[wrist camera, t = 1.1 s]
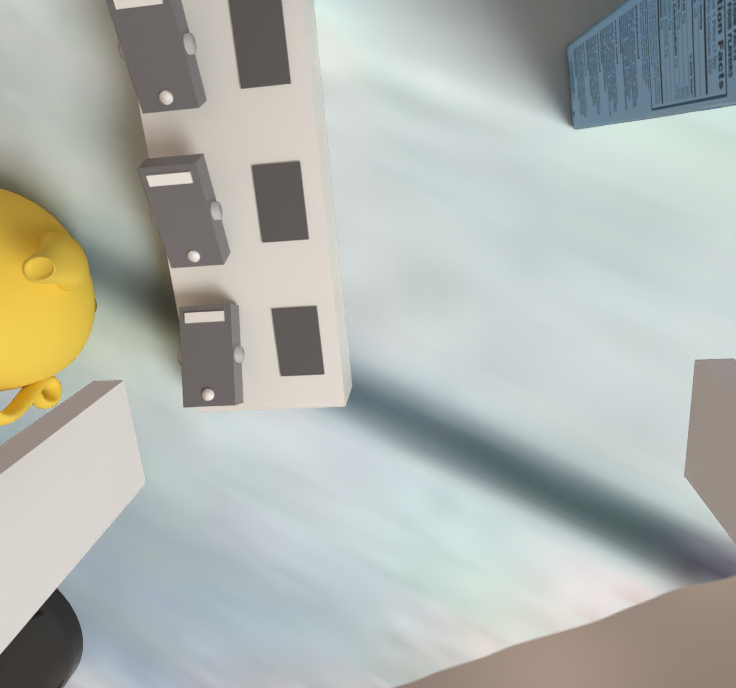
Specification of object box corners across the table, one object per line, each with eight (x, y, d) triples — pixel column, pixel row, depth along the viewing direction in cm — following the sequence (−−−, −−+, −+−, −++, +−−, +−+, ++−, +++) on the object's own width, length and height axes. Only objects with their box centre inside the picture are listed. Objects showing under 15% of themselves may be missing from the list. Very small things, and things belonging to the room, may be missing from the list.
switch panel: (212, 391, 44) (189, 418, 40) (140, -18, 36) (101, -39, 32) (352, 385, 42) (343, 412, 38) (309, -41, 35) (291, -66, 30)
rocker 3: (189, 405, 38) (177, 407, 36) (184, 308, 38) (172, 307, 36) (248, 402, 37) (239, 405, 36) (243, 305, 37) (234, 303, 36)
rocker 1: (147, 106, 34) (136, 114, 33) (109, -16, 31) (95, -12, 30) (212, 99, 34) (203, 107, 33) (180, -26, 30) (169, -22, 29)
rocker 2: (174, 256, 37) (165, 269, 36) (142, 159, 33) (130, 169, 32) (235, 252, 36) (228, 265, 35) (208, 152, 33) (199, 163, 32)
